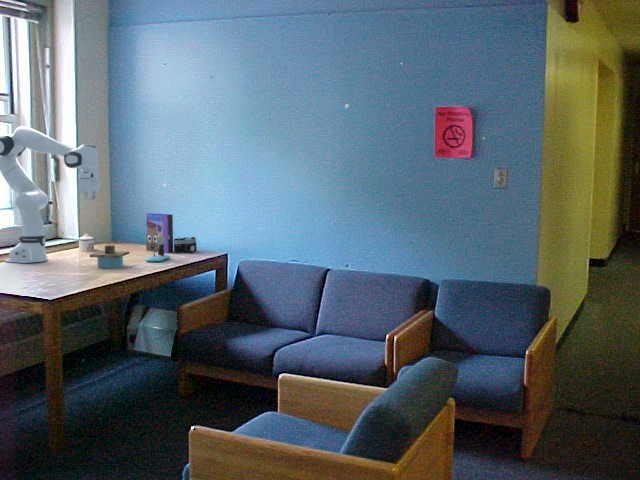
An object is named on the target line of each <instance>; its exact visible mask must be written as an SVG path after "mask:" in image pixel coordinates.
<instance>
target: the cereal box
mask: <svg viewBox="0 0 640 480" xmlns="http://www.w3.org/2000/svg"><path fill="white" fill-rule="evenodd" d="M173 218H174V217H173V214H170V213H169V214H167V213H151V212H149V213H145V238H149V239H148V240H149V242H145V246H146V247H145V248H146V252H152V253H154V246H153V247H152V245H154V241H155V242H156V243H155V249H156V250H155V253H156V252H157V253H158V250H159V249H160V248H159V247H158V246H159V245H158V241H157V239H156V238H155V237H157V236H158V235H159V234H162V236H163V237H164V238H165V240H166V242H164V248H163V249H164V254H172V253H174V228H173V226H174V223H173Z"/></svg>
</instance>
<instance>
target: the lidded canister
mask: <svg viewBox="0 0 640 480" xmlns="http://www.w3.org/2000/svg"><path fill="white" fill-rule="evenodd" d="M78 246H79V247H78V251H79V252H80V253H91V252H95V238H94V237H93V236H90V235H89V234H88V233H84V235H83V236H81V237H79V238H78Z"/></svg>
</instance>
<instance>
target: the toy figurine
mask: <svg viewBox="0 0 640 480" xmlns="http://www.w3.org/2000/svg"><path fill="white" fill-rule="evenodd" d="M155 238H156V239H157V241H158V245H159V246H158V247H159V248H160V249H159V250H158V252H155V250H156V249H155V243H156V242H155V241H154V245H152V247H153V246H154V252H152V253H151V255H152V256H147V257H145V260H144V261H146V262H150V263H151V262H152V263H157V262H163V261H165V260H167V259H170V258H171V255H168V254H165V253H164V249H163V248H164V242H166V240H165V238H164V237H163V236H162V234H159V235H158V236H157V237H155ZM148 239H149V238H146V237H144V243H146V242H149V240H148Z"/></svg>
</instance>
